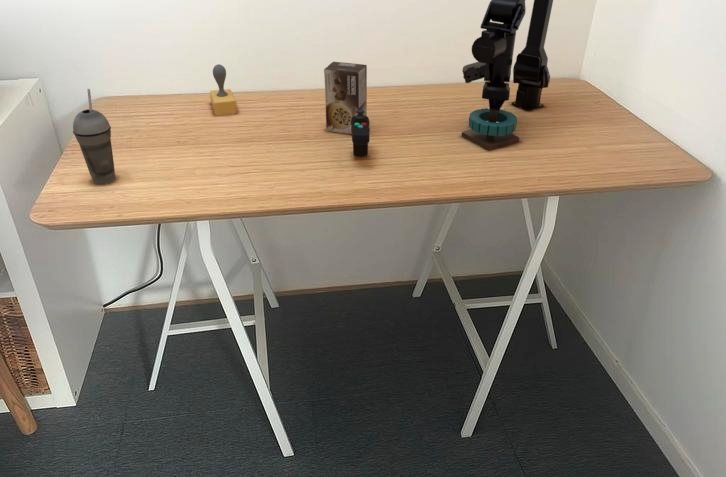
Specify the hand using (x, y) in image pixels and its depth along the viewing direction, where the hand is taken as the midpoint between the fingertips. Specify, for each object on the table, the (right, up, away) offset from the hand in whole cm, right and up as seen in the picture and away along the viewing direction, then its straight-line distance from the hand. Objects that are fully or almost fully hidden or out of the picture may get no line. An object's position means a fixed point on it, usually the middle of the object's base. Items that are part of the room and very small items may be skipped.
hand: (492, 115), depth 154 cm
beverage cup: (-88, -18, -22) cm, 92 cm away
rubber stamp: (-71, +5, +15) cm, 72 cm away
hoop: (-1, -3, -3) cm, 5 cm away
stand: (-1, -6, -1) cm, 6 cm away
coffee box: (-37, -3, +3) cm, 37 cm away
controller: (-33, -12, -11) cm, 37 cm away
